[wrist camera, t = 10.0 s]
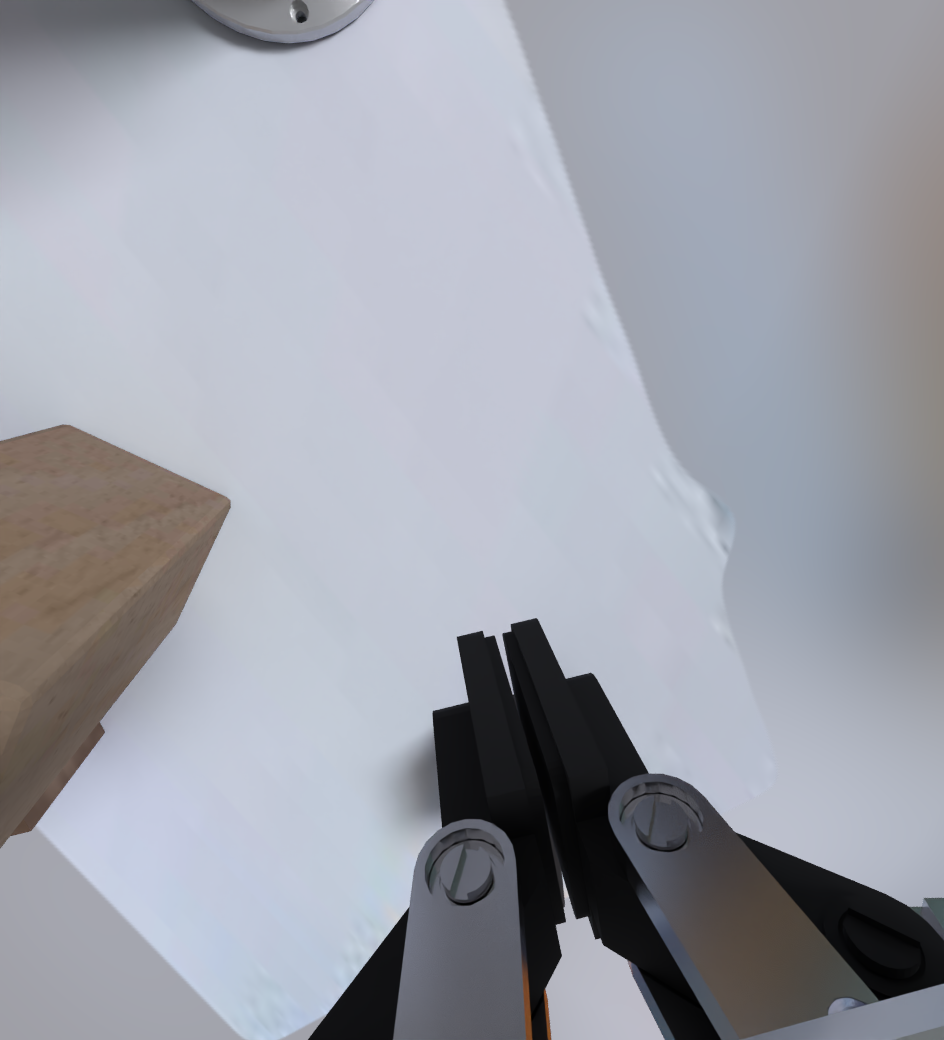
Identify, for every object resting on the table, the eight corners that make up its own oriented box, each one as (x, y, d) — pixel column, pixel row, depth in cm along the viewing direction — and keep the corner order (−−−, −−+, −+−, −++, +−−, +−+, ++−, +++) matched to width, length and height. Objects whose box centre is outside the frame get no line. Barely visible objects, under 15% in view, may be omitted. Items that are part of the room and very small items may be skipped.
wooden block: (12, 563, 33) (-490, 857, 15) (66, 419, 31) (-445, 549, 12) (176, 626, 36) (-72, 945, 17) (236, 498, 34) (27, 703, 15)
